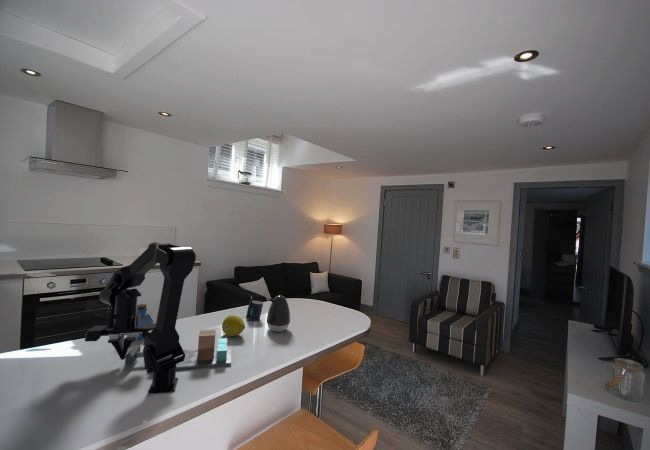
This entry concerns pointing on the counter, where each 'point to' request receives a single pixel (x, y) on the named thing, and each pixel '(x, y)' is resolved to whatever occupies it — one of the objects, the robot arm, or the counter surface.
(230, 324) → the lemon
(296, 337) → the counter surface
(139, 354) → the vise jaw
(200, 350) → the walnut block
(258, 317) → the speaker
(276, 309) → the pump dispenser
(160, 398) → the counter surface
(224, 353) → the vise
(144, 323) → the perfume bottle
